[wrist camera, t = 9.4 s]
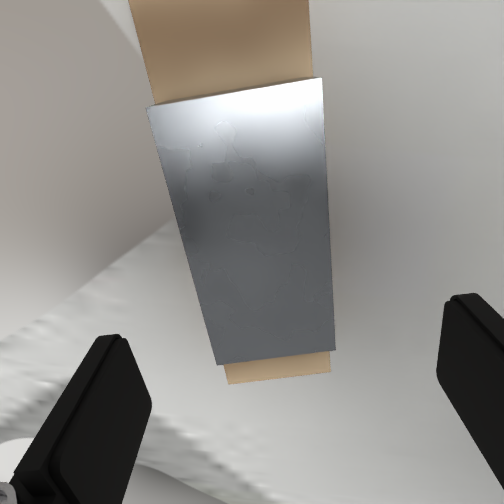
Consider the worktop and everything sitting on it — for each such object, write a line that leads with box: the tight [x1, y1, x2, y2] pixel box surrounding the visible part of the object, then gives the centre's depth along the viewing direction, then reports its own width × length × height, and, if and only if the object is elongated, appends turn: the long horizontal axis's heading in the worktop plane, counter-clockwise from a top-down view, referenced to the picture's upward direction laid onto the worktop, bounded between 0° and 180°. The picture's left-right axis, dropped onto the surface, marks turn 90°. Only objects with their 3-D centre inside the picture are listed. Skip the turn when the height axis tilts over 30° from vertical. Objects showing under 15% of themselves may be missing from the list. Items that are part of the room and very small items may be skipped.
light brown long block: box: [128, 0, 331, 384], centre depth 20 cm, size 24×7×4 cm, turn 9°
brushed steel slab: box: [146, 77, 336, 365], centre depth 18 cm, size 13×6×6 cm, turn 9°
